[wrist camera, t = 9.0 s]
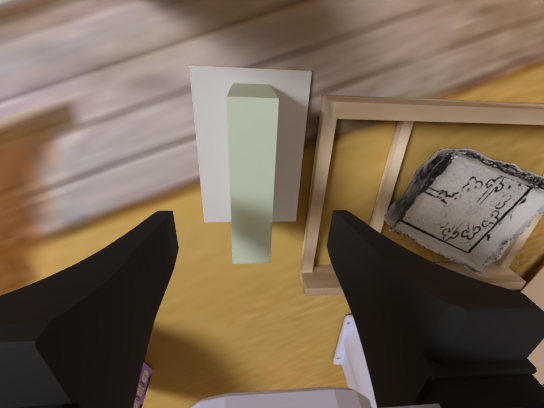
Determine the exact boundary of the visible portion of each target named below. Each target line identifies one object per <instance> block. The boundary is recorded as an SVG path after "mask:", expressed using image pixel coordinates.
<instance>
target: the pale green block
mask: <svg viewBox="0 0 544 408" xmlns="http://www.w3.org/2000/svg"><path fill="white" fill-rule="evenodd" d="M278 106H279V98H278V96H277V95H276V94H275V92H274V91H273V89H272V88H271V86H270V85H269V84H251V83H233V84H232V86H231V88H230V90H229V92H228V95H227V123H228V150H229V178H230V205H231V233H232V260H233V264H236V263H270V254H271V235H272V217H273V198H274V180H275V161H276V143H277V125H278Z"/></svg>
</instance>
